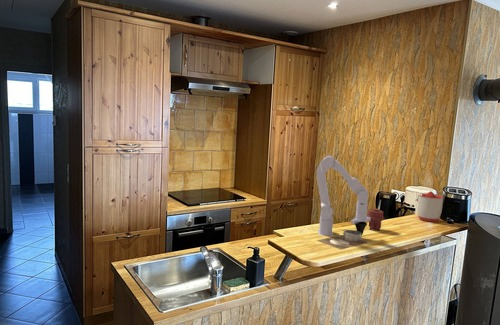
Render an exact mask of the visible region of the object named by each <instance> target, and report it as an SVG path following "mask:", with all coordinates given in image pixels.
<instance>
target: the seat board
mask: <svg viewBox="0 0 500 325" xmlns="http://www.w3.org/2000/svg"><path fill="white" fill-rule="evenodd" d="M316 242H320V243H322V244H325V245H328V246H330V247H333V248H335V249H338V250H345V249H348V248H353V247H357V246H361V245H364V244H369V243H370V240H365V239H364V238H361V241H360V242H349V241H346V240H344V239H343V234H341V235H335V236H330V237H327V238H321V239H318V240H317V241H316Z"/></svg>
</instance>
